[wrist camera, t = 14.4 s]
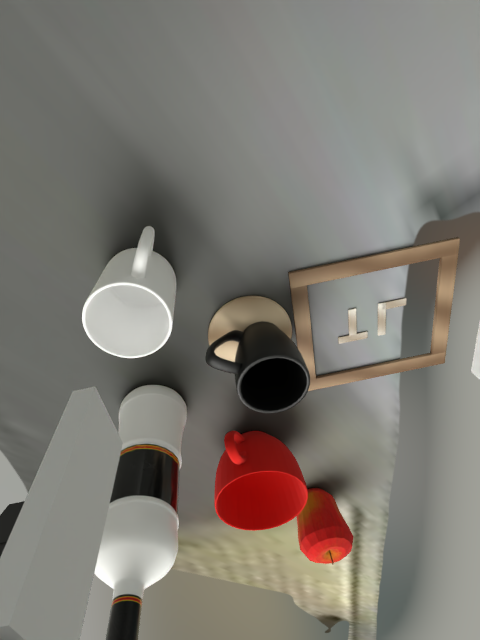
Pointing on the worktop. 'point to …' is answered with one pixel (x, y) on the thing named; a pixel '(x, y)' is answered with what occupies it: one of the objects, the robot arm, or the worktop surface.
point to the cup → (132, 302)
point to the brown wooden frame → (366, 264)
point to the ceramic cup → (258, 482)
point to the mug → (264, 367)
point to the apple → (323, 529)
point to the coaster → (245, 321)
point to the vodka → (142, 504)
